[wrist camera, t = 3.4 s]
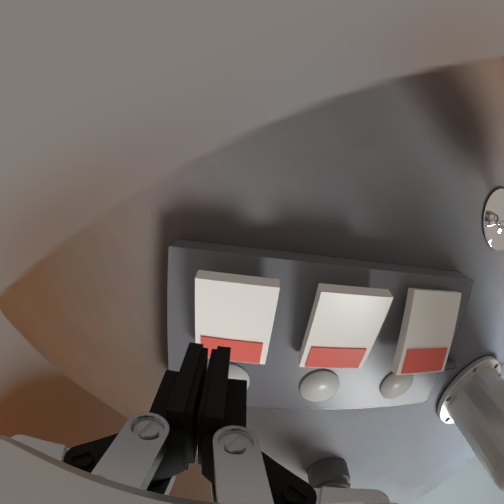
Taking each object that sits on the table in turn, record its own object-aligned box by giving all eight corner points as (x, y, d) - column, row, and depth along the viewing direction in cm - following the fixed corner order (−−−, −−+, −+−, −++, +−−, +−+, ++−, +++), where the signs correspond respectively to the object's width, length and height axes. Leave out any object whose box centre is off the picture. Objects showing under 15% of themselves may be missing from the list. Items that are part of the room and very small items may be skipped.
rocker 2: (388, 289, 22) (394, 298, 20) (358, 359, 25) (362, 369, 24) (318, 283, 21) (321, 292, 20) (298, 357, 25) (299, 368, 24)
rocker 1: (279, 279, 21) (280, 288, 20) (265, 354, 25) (264, 365, 24) (198, 269, 21) (194, 279, 20) (198, 346, 25) (195, 357, 24)
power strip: (482, 274, 26) (499, 283, 23) (441, 384, 30) (451, 398, 27) (178, 239, 26) (167, 247, 23) (176, 378, 30) (169, 396, 27)
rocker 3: (454, 291, 23) (462, 293, 22) (437, 367, 23) (444, 371, 22) (408, 287, 23) (415, 289, 22) (390, 370, 23) (396, 376, 22)
